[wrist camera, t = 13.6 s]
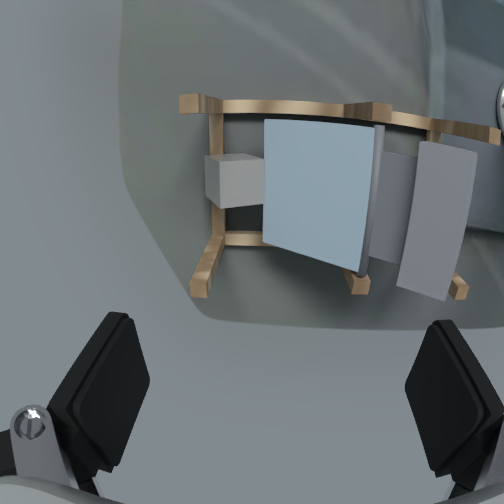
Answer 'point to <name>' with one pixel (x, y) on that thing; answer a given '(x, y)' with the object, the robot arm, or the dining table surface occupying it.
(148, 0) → the dining table surface
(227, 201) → the light grey block
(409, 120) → the frame
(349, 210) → the trapdoor
